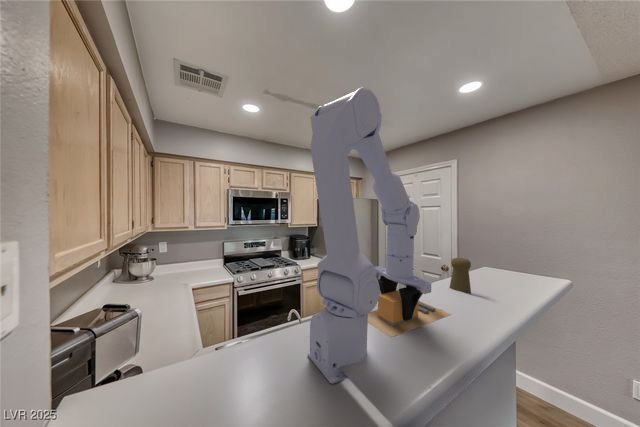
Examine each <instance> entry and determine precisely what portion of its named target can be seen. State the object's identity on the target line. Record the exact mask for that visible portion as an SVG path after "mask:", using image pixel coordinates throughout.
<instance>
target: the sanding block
mask: <svg viewBox="0 0 640 427" xmlns="http://www.w3.org/2000/svg"><path fill="white" fill-rule="evenodd" d="M419 301H420V299H419V300H418V302H417V304H416V307H415V309H414V312H413V316H412V319H415V318H418V303H419ZM377 310H378V317H379V318H380V319H382V320H384V321H385V322H387V323H389V324H391V325H392V326H395V325H398V324H400V323H403V322H406V321H405V320H403V316H402V300H401V295H400V292H399V289H396V291H393V292H389V293H385V294H381V293H380V295H379V300H378V302H377ZM412 319H410V320H412ZM408 321H409V320H408Z"/></svg>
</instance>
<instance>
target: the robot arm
mask: <svg viewBox="0 0 640 427" xmlns="http://www.w3.org/2000/svg"><path fill="white" fill-rule="evenodd" d="M309 118H310V125H311V131H312V135H311V140H310V141H311V142H310V154H311V162H312V166H313V172H314V173H313V174H314V179H315V181H314V182H315V186H316V192H317V199H318V204H319V205H318V206H319V210H320V211H319V213H320V219H321V225H322V231H323V237H324V245H325V252H326V255H324V257H322V258H321V259H320V260H319V261H318V262H317V271H318V272H317V279H316V290H317V293H318V295H319V296H320V297H321V298H322V304H323V305H324V306H325V307H324V308H323V309H321V311H319V312H317V313H314V314H313V315H312V316H311V319H310V322H309V323H310V324H309V351H308V352H307V356H308V357H309V359H310V360H311V361H312V362H313V364H314V365H315V366H316V367H317V368H318V370H319V371H320V372H321V374H322V375H323V376H324V377H325V378H326V380H327V381H328V383H330V384H336V383H337V382H341V381H342V380H344V379H347V378H348V376H347V375H346V374H345V372H344V371H343V370H342V369H341V367H345V366H349V365H356V364H359V363H361V362H363V361H364V360H366V357H367V355H368V327H369V326H368V325H369V323H368V313H370V312H372V311H374V309H375V308H376V306H377V305H378V300H379V295H381V294H385V293H389V292H393V291H397V289H398V290H399V292H400V295H401V300H402V316H403V320H405V321H408V320H410V319H412V316H413V312H414V309H415V307H416V304H417V302H418V300H419V301H420V299H421V297H422V296H423V294H424V295H426V294H427V295H428V294H430V293H432V283H431V282H430V281H426V280H424V279H422V278H421V277H418V276H417V275H415V273H414V254H415V253H414V252H415V250H414V249H415V248H414V247H415V245H414V244H415V236H416V235H417V233H418V232H417V231H418V225H419V222H420V217H421V216H420V215H421V214H420V209H419V206H418V205H417V203H414V202H413V201H411V200H410V198H409V195H408V193H407V191H406V188H405V186H404V184H403V181H402V179H401V176H400V175H399V174H397V173H394V172H392V169H391V167H390V164H389V161H388V158H387V154H386V152H385V149H384V144H383V142H382V140H381V137H380V130H381V126H382V114H381V108H380V103H379V100H378V98H377V96H376V94H375V93H374V92H373V91H372V89H370V88H368V87H365V86H364V87H363V86H362V87H359V88H357V89H356V91H353V92H351V93H349V94H346V95H344V96H342V97H340V98H338V99H334V100H333V101H330V102H328V103H325V104H322V105H320V106H318V108H316V110H315V111H314V112H313V113H312V114H311V115H310V117H309ZM352 150H354V151H356V152H357V153H358V155H359V157H360V158H361V161H362V162H363V163H364V165H365V166H366V169H367V170H368V171H369V173H370V174H371V176H372V178H373V179H374V182H373V184H372V190H373V191H374V194H375V196H376V197H377V199H378V201H379V204H380V205H381V206H380V211H381V219H382V223H384V225H385V226H386V228H387V231H386V260H385V262H386V264H385V265H386V266H385V267H383V266H379V265H378V266H374V264H373V263H372V262H371V261H370V260H369V259H368V258H367V257H366V256H365V254H363V253H362V252H361V251H360V242H359V235H358V228H357V227H358V226H357V219H356V213H355V212H356V211H355V205H354V204H355V203H354V202H355V201H354V197H353V195H354V194H353V188H352V181H351V172H350V165H349V164H350V163H349V154H350V153H351V151H352ZM377 276H379V279H378V278H377ZM398 283H399V284H401V285H403V286H405V287H401V288H397V287H398V285H399V284H398Z"/></svg>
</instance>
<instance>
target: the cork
mask: <svg viewBox="0 0 640 427" xmlns="http://www.w3.org/2000/svg"><path fill="white" fill-rule="evenodd" d="M471 263H472V262H471V261H470V260H469V259H467V258H464V257H454V258H452V260H451V262H450V264H451V267H452V273H451V277H450V282H449V283H450V284H449V289H451V290H453V291H456V292H461V293H464V294H467V295H471V296H472V290H471V282H470V271H469V270H470V269H471V266H472V264H471Z"/></svg>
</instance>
